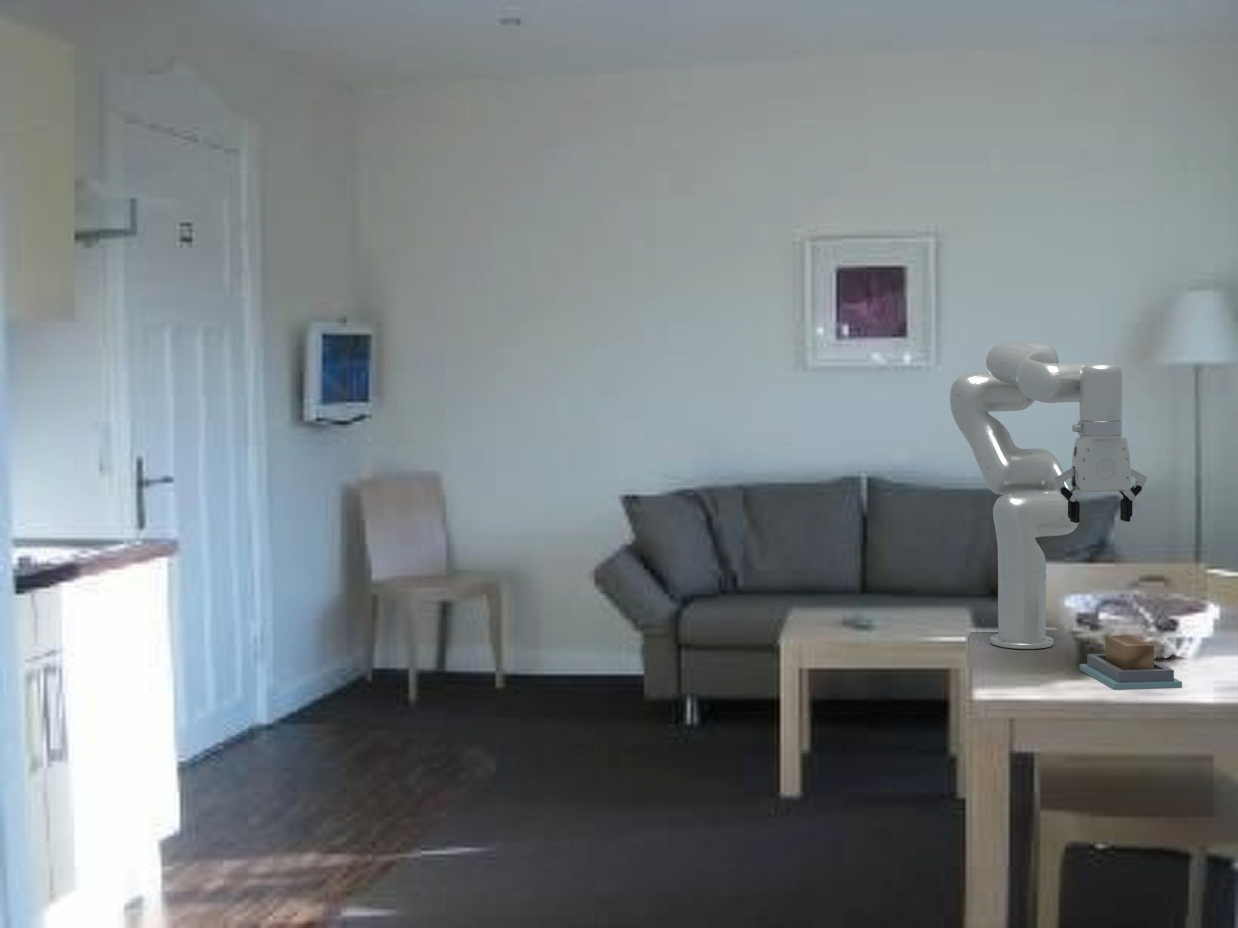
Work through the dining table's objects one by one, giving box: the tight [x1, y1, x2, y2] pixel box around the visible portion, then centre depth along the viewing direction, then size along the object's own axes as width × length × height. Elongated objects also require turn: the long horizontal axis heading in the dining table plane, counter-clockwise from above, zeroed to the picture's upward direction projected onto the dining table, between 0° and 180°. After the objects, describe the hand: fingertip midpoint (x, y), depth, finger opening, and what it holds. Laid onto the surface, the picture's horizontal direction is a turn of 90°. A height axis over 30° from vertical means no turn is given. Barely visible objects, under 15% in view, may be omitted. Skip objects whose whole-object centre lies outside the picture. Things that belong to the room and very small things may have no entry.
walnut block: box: [1104, 634, 1155, 670], centre depth 275 cm, size 5×10×6 cm, turn 4°
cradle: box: [1079, 653, 1183, 690], centre depth 275 cm, size 17×12×3 cm
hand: (1100, 521), depth 280 cm, fingers open, 9 cm apart
